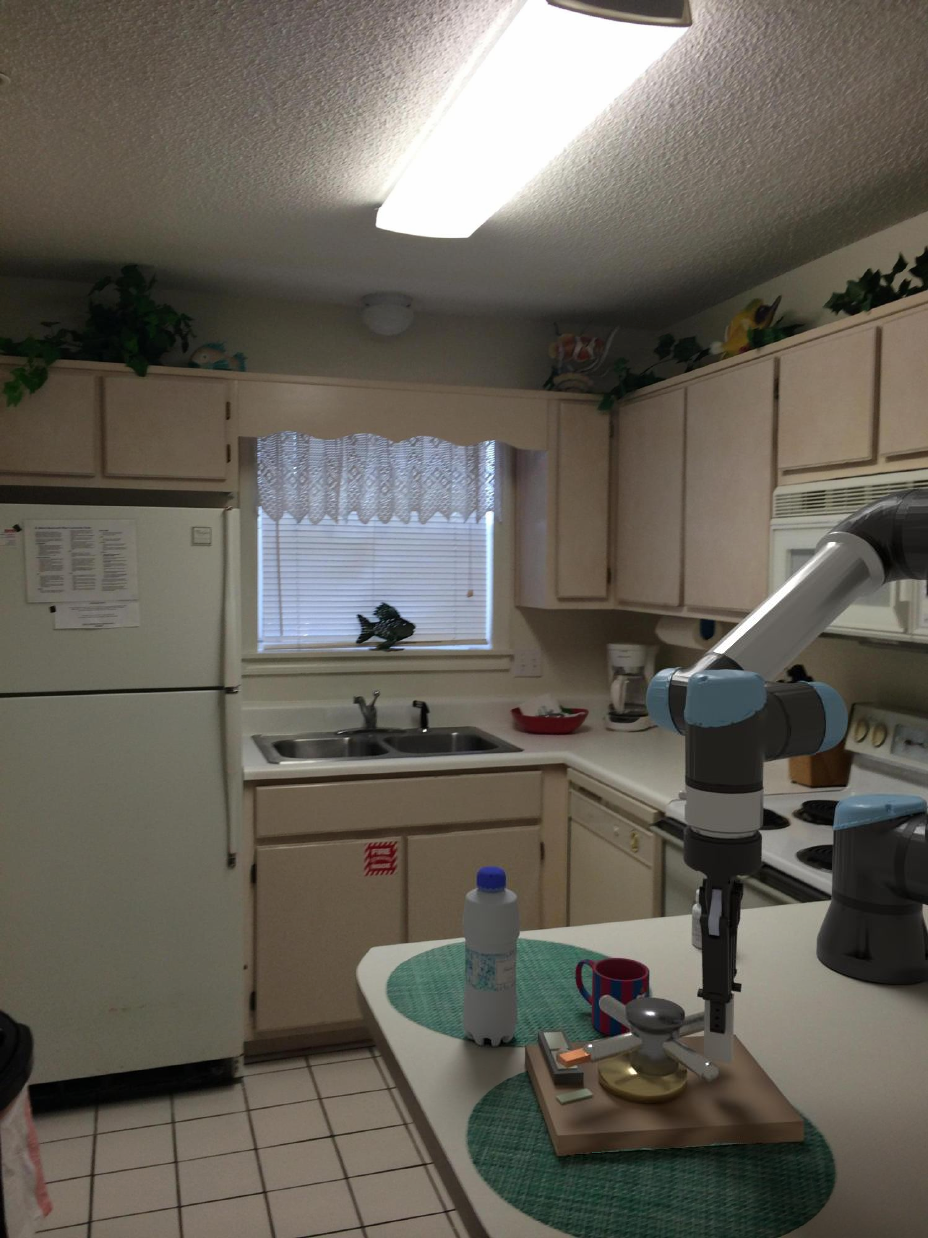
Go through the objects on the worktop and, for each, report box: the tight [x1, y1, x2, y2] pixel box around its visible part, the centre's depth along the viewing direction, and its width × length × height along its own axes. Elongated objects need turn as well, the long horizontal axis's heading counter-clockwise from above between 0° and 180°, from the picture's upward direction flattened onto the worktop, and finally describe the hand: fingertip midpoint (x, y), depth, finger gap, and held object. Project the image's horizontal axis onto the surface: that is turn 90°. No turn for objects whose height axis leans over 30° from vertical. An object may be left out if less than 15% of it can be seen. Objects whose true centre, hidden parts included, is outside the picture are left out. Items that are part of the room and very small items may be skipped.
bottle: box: [461, 865, 521, 1047], centre depth 113 cm, size 7×7×20 cm
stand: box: [524, 1029, 805, 1157], centre depth 101 cm, size 24×18×4 cm
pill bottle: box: [691, 889, 702, 950], centre depth 141 cm, size 4×4×8 cm
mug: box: [574, 957, 651, 1037], centre depth 118 cm, size 7×10×7 cm
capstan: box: [558, 995, 718, 1103], centre depth 100 cm, size 18×20×7 cm
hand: (718, 1057), depth 99 cm, fingers closed
